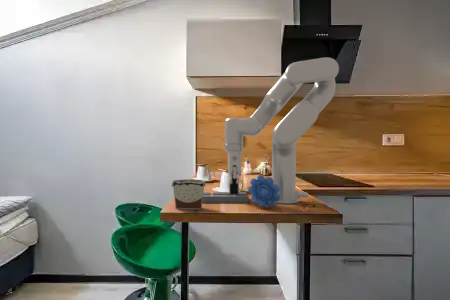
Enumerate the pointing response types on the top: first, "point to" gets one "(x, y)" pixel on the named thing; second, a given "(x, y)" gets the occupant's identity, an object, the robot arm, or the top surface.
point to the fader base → (225, 197)
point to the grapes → (264, 191)
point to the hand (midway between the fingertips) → (233, 192)
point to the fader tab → (229, 186)
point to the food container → (188, 193)
